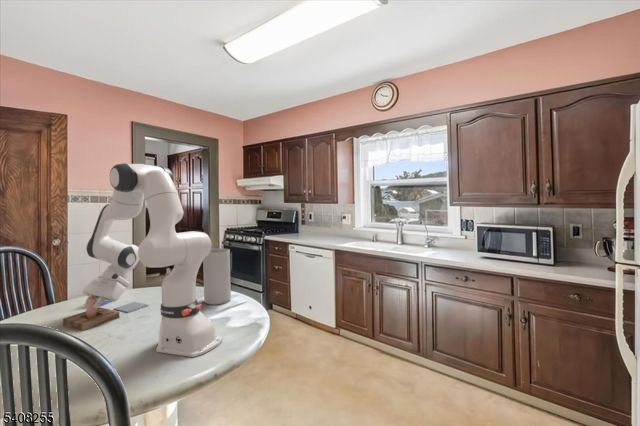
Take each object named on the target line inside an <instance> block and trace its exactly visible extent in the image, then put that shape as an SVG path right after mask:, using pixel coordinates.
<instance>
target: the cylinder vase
mask: <svg viewBox="0 0 640 426" xmlns="http://www.w3.org/2000/svg"><path fill="white" fill-rule="evenodd" d="M230 251H231V250H230V249H229V248H211V251H210V253H209V254H208V255H207V256H206V257H205V259H204V260H203V262H202V264H203V266H202V267H203V271H202V272H203V300H204V304H206V305H212V306H213V305H215V306H217V305H222V304H226V303H228V302H229V301H231V299H232V295H231V291H232V288H231V287H232V286H231V252H230Z"/></svg>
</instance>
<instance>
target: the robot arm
mask: <svg viewBox="0 0 640 426" xmlns="http://www.w3.org/2000/svg"><path fill="white" fill-rule="evenodd" d="M109 171H110V172H109V182H110V185H111V187H112V188H113V192H112V196H111V199H110V200H111V201H110V203H108V204H105V205H104V206H103V207H102V209H101V210H100V212H99V215H98V217H97V220H96V222H95V226H94V229H93V231H92V235H91V237H90V239H89V240H88V242H87V244H86V247H85V248H86V253H87V255H88V256H89V257H90V258H93V259H97V260H100V261H103V262H105V263H108V264H110V265H108V266H107V267H106V268H105V270H104V272H102V274H101V275H99V276H98V277H96V278H93V279H91V281H89V283H87V285H86V286H85V287H84V288H83V289H82V292H81V293H83V294H84V295H86V296H87V298H86V300H87V299H90V298H99V300H98V301H97V302H96V303H93V305H92V306H91V307H92V308H94V309H97V308H98V307H100V306H99V305H101V304H102V303H104V302H105V300H109V301H112V302H117V301H118V300H119V298H121V296H122V295H123V293H125V291H126V288H128V287H129V286H130V284H131V282H129V281H128V280H127V278H128V276H129V274H130V272H132V271H133V270H134V269H135V267H136V266H137V264H138V263H139V262H141V264H142V265H143V266H144V267H146V268H167V267H170V266H173V268H172V270H171V272H170V273H169V274H168V275H167V276H165V277H164V279H163V280H162V281H161V282H162V283H161V304H160V315H161V321H160V325H159V329H158V330H159V331H158V332H159V333H158V342H157V347H156V349H155V351H156V353H163V354H170V355H176V356H184V357H193V358H194V357H198V356H201V355H204V354H206V353H207V352H210V351H211V350H213V349H215V348H216V347H218V346H219V345H221V343H222V341H223V336H221V335H219V334H216V328H215V326H214V323H213V322H212V321H211V319H209V318H207V316H206V315H205V314H204V313H202V312H201V308H202V307H203V306H202V303H199V302H198V300H197V298H196V296H197V295H196V290H197V287H196V286H197V276H198V273H199V269H200V267H201V266H202V264H203V260H204V259H205V257H206V256H207V255H208V254H209V253H210V251H211V249H212V244H213V243H212V240H211V238H210V236H209V235H208V234H207V233H206V232H203V231H193V230H191V231H184V232H177V231H176V224H178V223H179V222H180V221H181V220H182V219H183V217H184V213H185V212H184V209H183V205H182V202H181V198H180V196H179V193H178V190H177V187H176V185H175V183H174V181H175V180H174V174H173V172H172V170H170V168H168V167H166V166H162V165H150V164H145V163H125V162H124V163H116V164H115V165H114V166H113V165H112V168H111V169H110V170H109ZM144 201H145V204H146V208H147V211H148V215H149V221H150V222H149V224H150V226H149V231H148V233H147V235H146V237H145V238H144V239H143V240H142V241H141V242H140V244H139V245H138V246H137V245H135V244H134V243H133V244H132V243H131V244H127V243H125V242H121V241H118V240H116V239H113V238H111V237H110V236H109V232H110V230H111V228H112V224H113V222H114V221H127V220H128V221H129V220H131V219H134V218H136V217H138V216H139V215H140V214H141V213H142V209H143V206H144ZM83 306H84V307H86V302H85V303H84V304H83Z"/></svg>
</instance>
